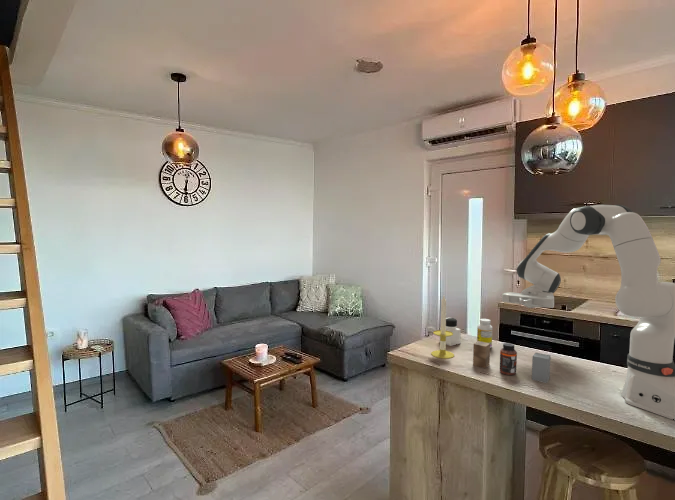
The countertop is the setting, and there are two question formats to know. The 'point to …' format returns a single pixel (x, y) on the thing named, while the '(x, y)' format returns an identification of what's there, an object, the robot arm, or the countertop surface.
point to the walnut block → (481, 354)
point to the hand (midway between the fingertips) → (523, 302)
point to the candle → (443, 335)
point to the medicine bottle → (452, 327)
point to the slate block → (541, 367)
